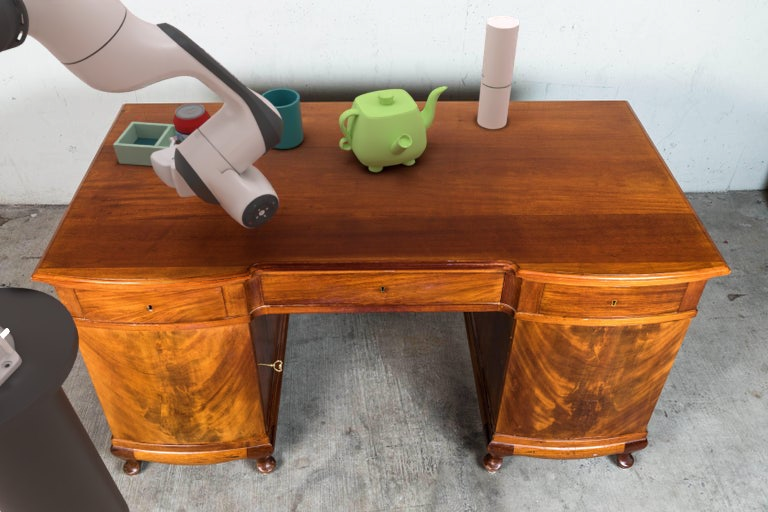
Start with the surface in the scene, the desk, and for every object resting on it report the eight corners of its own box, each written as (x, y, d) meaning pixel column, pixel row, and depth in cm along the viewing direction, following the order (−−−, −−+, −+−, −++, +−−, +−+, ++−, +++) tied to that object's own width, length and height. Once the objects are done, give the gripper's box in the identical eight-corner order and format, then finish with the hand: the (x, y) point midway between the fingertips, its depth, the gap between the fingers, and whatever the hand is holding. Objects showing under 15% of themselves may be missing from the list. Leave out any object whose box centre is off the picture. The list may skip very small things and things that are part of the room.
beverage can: (178, 164, 129) (164, 109, 121) (208, 151, 132) (196, 97, 124) (196, 178, 125) (182, 123, 117) (226, 165, 129) (215, 110, 121)
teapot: (358, 198, 139) (355, 133, 128) (331, 146, 154) (327, 84, 143) (467, 175, 144) (473, 111, 134) (430, 127, 160) (433, 66, 149)
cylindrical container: (501, 112, 164) (513, 14, 148) (510, 127, 159) (523, 27, 143) (473, 115, 164) (482, 16, 147) (481, 130, 158) (492, 29, 142)
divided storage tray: (200, 169, 147) (196, 150, 144) (119, 163, 149) (112, 144, 146) (215, 145, 155) (211, 126, 151) (137, 139, 157) (132, 121, 153)
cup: (255, 131, 159) (248, 88, 152) (305, 129, 159) (300, 87, 152) (251, 151, 152) (244, 108, 145) (303, 150, 153) (298, 106, 145)
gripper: (273, 134, 119) (241, 103, 127) (163, 170, 110) (137, 135, 119) (277, 163, 123) (246, 131, 131) (172, 200, 114) (146, 164, 123)
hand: (193, 133), depth 125 cm, fingers closed on beverage can, 7 cm apart
